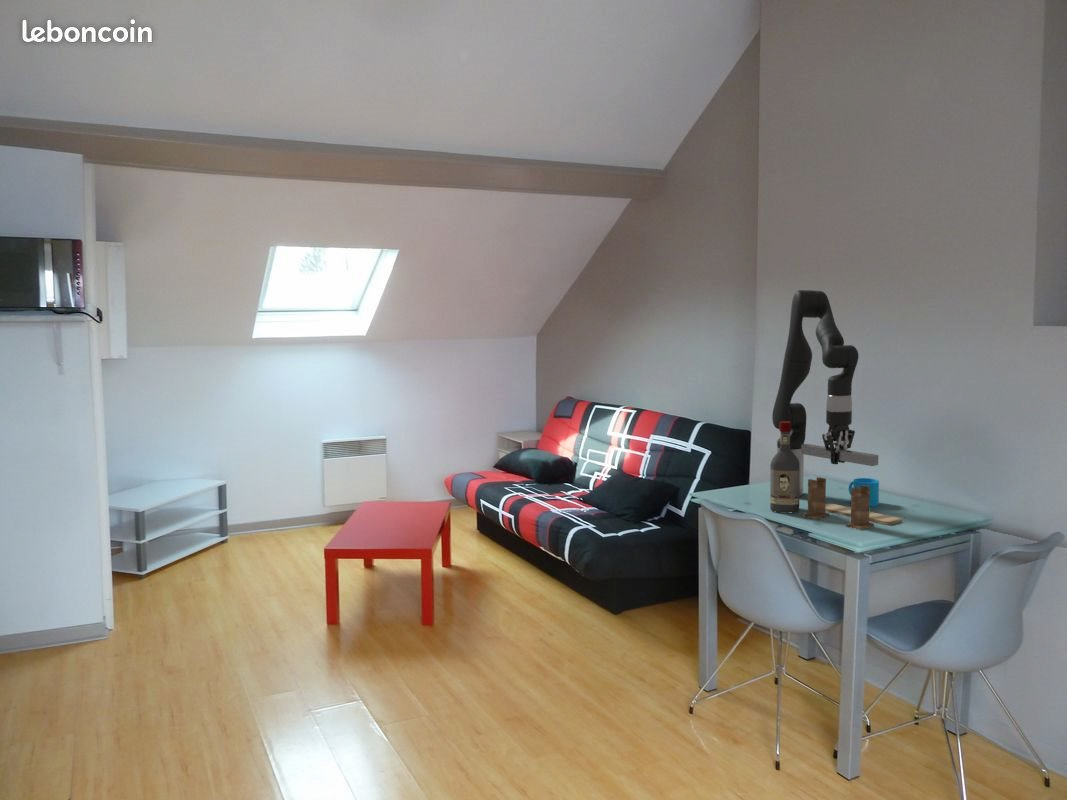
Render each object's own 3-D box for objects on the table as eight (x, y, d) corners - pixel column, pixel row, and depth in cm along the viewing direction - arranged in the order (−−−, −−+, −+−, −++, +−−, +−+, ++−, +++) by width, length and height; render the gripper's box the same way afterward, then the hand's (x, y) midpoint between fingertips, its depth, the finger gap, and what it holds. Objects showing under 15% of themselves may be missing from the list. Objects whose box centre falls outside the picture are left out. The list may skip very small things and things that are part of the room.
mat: (818, 509, 278) (818, 506, 278) (831, 506, 282) (831, 503, 282) (888, 525, 256) (889, 522, 256) (902, 521, 260) (902, 518, 260)
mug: (884, 504, 282) (884, 481, 281) (865, 507, 279) (865, 483, 278) (858, 497, 293) (858, 475, 292) (839, 500, 290) (840, 477, 289)
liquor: (771, 506, 285) (771, 419, 281) (799, 507, 282) (800, 420, 278) (769, 512, 276) (770, 423, 273) (798, 514, 273) (799, 424, 270)
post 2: (845, 526, 256) (846, 487, 255) (859, 522, 260) (860, 484, 259) (860, 529, 252) (860, 490, 251) (873, 525, 256) (874, 486, 255)
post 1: (803, 516, 270) (803, 479, 268) (817, 513, 274) (817, 476, 272) (816, 519, 266) (816, 481, 264) (829, 516, 269) (830, 478, 268)
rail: (801, 453, 271) (801, 444, 270) (807, 452, 272) (807, 443, 272) (872, 466, 249) (872, 456, 249) (878, 464, 251) (878, 455, 250)
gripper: (842, 405, 266) (841, 458, 268) (814, 410, 258) (813, 464, 260) (863, 408, 259) (862, 462, 262) (835, 412, 252) (834, 468, 254)
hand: (838, 462), depth 261 cm, fingers closed on rail, 3 cm apart
